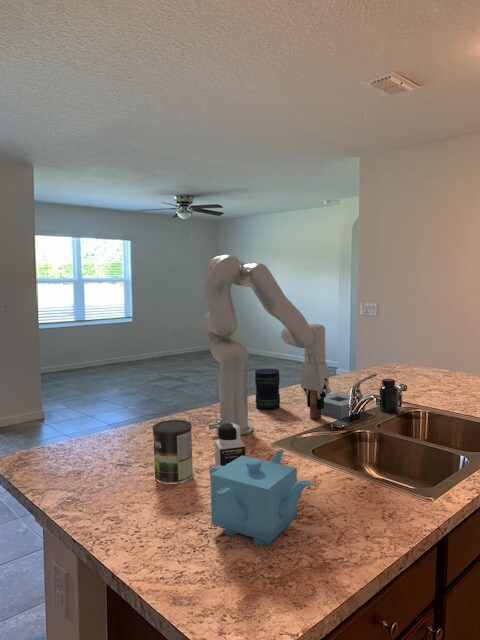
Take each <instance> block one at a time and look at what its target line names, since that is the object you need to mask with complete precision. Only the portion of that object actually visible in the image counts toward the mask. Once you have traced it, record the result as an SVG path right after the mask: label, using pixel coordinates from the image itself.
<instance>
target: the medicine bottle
mask: <svg viewBox="0 0 480 640" xmlns="http://www.w3.org/2000/svg"><path fill="white" fill-rule="evenodd" d="M217 434H218V439H215V440H214V461H215V462H214V463H215V466H225V465H227V464H228V463H230V462H232V461H233V460H235V459H237V458H239V457H240V456H246V445H245V443H244V442H243V441H242V440H241V435H240V427H239V426H238V425H237V424H233V423H226V424H223V425H220V426H219V427H218V432H217Z"/></svg>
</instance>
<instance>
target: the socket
mask: <svg viewBox="0 0 480 640" xmlns="http://www.w3.org/2000/svg"><path fill="white" fill-rule="evenodd" d="M350 396H351V395H350V394H345V393H340V392H333V393H329V394H327V395H326V396H325V398H324V408H323V409H321V415H324V416H328V417H331V418H334V419H339V420H343V419H342V418H344V419H346V418H345V417H347V418H349V417H348V416H349V411H350V407H349V400H350ZM365 412H366V405H365V406H364V408H363V409H362V411H361V413H360V414H362V413H365Z"/></svg>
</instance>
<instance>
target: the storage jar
mask: <svg viewBox="0 0 480 640" xmlns="http://www.w3.org/2000/svg"><path fill="white" fill-rule="evenodd" d="M254 373H255V374H254V375H255V376H254V381H255V382H254V383H255V405H256V406H255V409H257V410H258V411H260V412H261V411H262V412H272V411H277V410H279V409H281V405H280V404H281V403H280V402H281V398H280V395H281V394H280V370H279V369H276V368H260V369H255V370H254Z"/></svg>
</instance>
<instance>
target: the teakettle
mask: <svg viewBox="0 0 480 640" xmlns="http://www.w3.org/2000/svg"><path fill="white" fill-rule="evenodd" d="M283 455H284V450H283V449H280V450H277V451H276V452H274V454H273V455H272V458H271V460H269V461H268V460H264V459H258V458H255V457H250V456H247V455H245V456H240V457H239V458H237V459H235V460H233V461H232V462H230V463H228V464H227V465H225V466H216V465H215V466H214V465H213V466H212V467H211V468H210V469H209V480H210V481H209V483H210V485H209V486H210V488H209V489H210V510H211V511H210V512H211V515H210V517H211V524H212V525H214V526H217V527H220V528H223V529H225V530H224V534H225V535H227V536H236V535H237V534H240V535H243V536H246V537H249V538H252V539H253V544H254V545H256V546H258V547H259V546H260V547H263V546H266V545H268V544H271V543H272V541H274V540H275V539H276V538H277V537H278V536H279V535H280V534H281V533H282V532H283V531H284V530H285V529H286V528H287V527H288V526H289V525H290V524H291V523H292V522H293V521H295V520H296V519H297V518H298V505H299V502H300V499H301V495H302V492H303V490H304V489H305V488H307V487H310V486H312V485H314V482H313V481H309V480H303V479H302V480H299V481H298V476H297V475H298V472H297V471H298V469H297V467H296V466H295V467H294V466H290V465H285V464H283V463H282V464H281V460H282V458H283Z"/></svg>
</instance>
